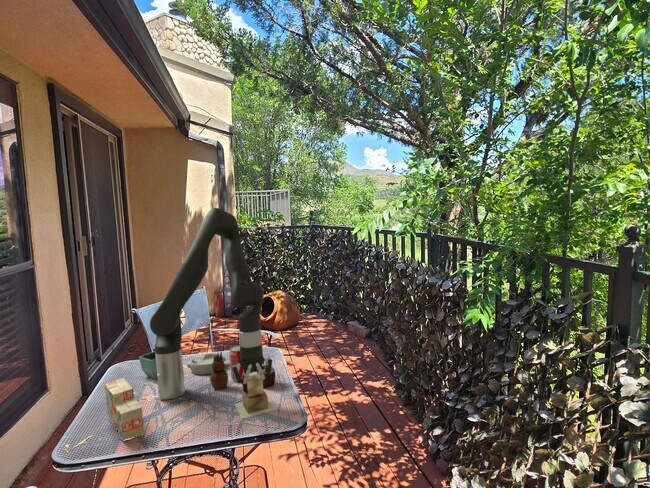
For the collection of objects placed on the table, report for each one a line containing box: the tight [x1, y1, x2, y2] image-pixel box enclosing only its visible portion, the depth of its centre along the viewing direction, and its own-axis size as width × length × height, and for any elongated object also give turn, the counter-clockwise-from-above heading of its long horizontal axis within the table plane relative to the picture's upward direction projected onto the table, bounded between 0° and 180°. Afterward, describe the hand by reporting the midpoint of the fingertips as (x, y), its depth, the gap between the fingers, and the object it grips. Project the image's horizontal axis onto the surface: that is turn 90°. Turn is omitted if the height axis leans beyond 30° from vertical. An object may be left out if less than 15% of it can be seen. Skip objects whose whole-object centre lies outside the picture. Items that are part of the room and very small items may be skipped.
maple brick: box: [247, 373, 263, 397], centre depth 139 cm, size 5×5×5 cm
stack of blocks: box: [104, 378, 145, 440], centre depth 133 cm, size 21×6×12 cm, turn 39°
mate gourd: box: [256, 362, 276, 389], centre depth 156 cm, size 8×8×15 cm
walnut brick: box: [241, 390, 269, 414], centre depth 140 cm, size 7×7×4 cm
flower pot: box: [138, 350, 158, 379], centre depth 174 cm, size 9×9×9 cm
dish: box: [186, 352, 226, 375], centre depth 178 cm, size 14×14×5 cm
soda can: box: [228, 345, 244, 383], centre depth 165 cm, size 7×7×13 cm
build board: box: [234, 395, 278, 419], centre depth 140 cm, size 12×11×1 cm
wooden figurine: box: [209, 351, 229, 391], centre depth 157 cm, size 7×6×15 cm
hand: (254, 390), depth 139 cm, fingers closed on maple brick, 4 cm apart
